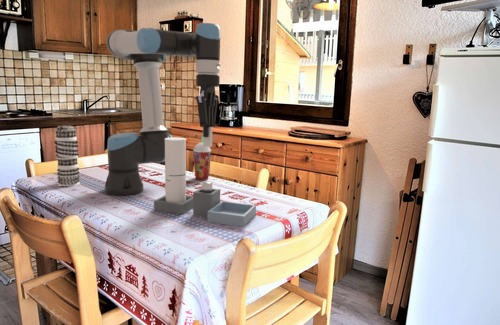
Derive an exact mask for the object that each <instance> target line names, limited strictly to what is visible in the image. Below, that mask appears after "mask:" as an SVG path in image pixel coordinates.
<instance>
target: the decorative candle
mask: <svg viewBox="0 0 500 325" xmlns="http://www.w3.org/2000/svg"><path fill="white" fill-rule="evenodd" d="M76 131H77V129H76V128H75V127H74V126H73V125H58V126H57V127H56V129H55V140H54V142H53V143H54V144H55V146H54V149H55V151H54V152H55V153H56V154H55V157H56V159H57V170H56V171H57V183H58V184H57V185H59V186H58V187H60V186H72V187H76V186H75V185H77V186H79V185H81V183H80V181H81V179H80V177H81V176H80V175H79V173H80V171H79V170H80V167H79V163H78V158H79V153H78V152H79V150H78V149H77V148H78V147H79V145H78V144H79V141H78V140H77V138H78V136H77V133H76ZM78 184H79V185H78Z"/></svg>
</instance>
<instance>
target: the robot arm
mask: <svg viewBox="0 0 500 325" xmlns="http://www.w3.org/2000/svg"><path fill="white" fill-rule="evenodd" d="M195 26H196V27H195V32H184V31H177V30H176V31H174V30H165V29H157V28H153V27H142V28H139V30H133V29H132V30H131V29H116V30H115V29H114V30H113V31H111V32H110V33H109V34H108V35H107V38H106V42H105V43H106V44H105V45H106V48H107V50H108V52H109V53H110V54H111V55H112V56H114V57H116V58H119V59H120V60H126V61H128V60H129V61H133V67H135V68H136V69H137V74H138V86H139V96H140V97H139V98H140V108H141V109H140V110H141V119H142V120H141V122H142V128H141V129H140V130H139V135H138V133H137V132H131V131H130V132H122V133H117V134H112V135H111V136H109V137H108V138H107V146H106V150H107V162H108V164H107V165H108V168H107V169H108V175H107V177H106V181H105V184H104V193H105V194H107V195H111V196H129V195H137V194H140V193H142V192H143V191H144V188H145V187H144V183H143V180H142V177H141V174H140V168H139V165H144V164H153V163H162V162H165V138H170V137H173V135H172V134H170V133H169V130H168V128H167V127H166V126H165V125H164V124H165V123H164V114H163V113H164V112H163V101H162V90H161V89H162V88H161V77H160V76H161V75H160V68H161V67H162V66H163V62H165V61H166V59H167V55H169V56H180V57H185V58H194V57H195V65H196V66H195V73H197V74H196V75H195V76H196V77H195V82H196V83H195V85H196V87H200V89H199V95H197V96H196V97H195V100H196V104H197V110H198V111H197V113H198V120H199V127H200V128H202V137H203V147H210V148H212V147H213V128H215V127H216V120H217V111H218V110H217V109H218V102H219V95H216V94H217V93H216V88H219V87H220V78H221V77H220V75H219V74H220V67H222V66H221V61H220V59H221V58H220V57H221V31H220V30H221V28H220V26H219V25H218V24H215V23H211V22H210V23H209V22H200V23H197V25H195Z"/></svg>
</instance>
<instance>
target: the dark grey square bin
mask: <svg viewBox="0 0 500 325" xmlns="http://www.w3.org/2000/svg"><path fill="white" fill-rule="evenodd" d="M190 210H193V195H188V194H186V201H185V202H183V203H173V202H166V195H165V194H164V195H163V196H162V197H161V196H160V197H159V198H157V199H155V200H153V211H155V212H162V213H167V214H168V213H170V214H174V215H175V214H177V215H184V214H186V213H187V212H188V211H190Z"/></svg>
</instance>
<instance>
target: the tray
mask: <svg viewBox="0 0 500 325" xmlns="http://www.w3.org/2000/svg"><path fill="white" fill-rule="evenodd" d="M255 216H257V205H256V204H249V203H242V202H234V201H233V202H232V201H226V200H225V201H224V200H220V203H219V204H217V205H216V206H214V207H213V208H212V209H210V210H209V211H207V218H206V221H207V222H208V223H214V224H222V225H228V226H235V227H241V228H245V227H246V226H247V224H249V223H250V221H252V220H253V219H254V218H255Z"/></svg>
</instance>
